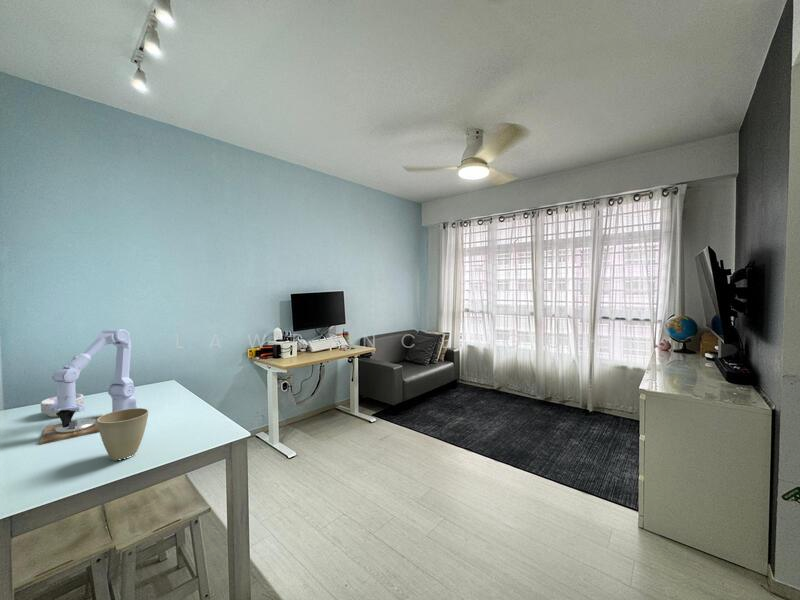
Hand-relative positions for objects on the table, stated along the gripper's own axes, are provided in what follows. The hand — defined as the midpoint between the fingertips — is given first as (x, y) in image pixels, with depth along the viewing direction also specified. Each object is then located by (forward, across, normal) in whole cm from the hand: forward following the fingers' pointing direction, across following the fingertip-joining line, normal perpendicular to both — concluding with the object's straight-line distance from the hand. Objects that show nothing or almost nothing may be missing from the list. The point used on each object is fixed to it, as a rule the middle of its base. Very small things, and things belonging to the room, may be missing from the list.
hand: (67, 426), depth 142 cm
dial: (+2, -1, +4) cm, 5 cm away
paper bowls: (+4, -28, +21) cm, 35 cm away
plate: (+3, -1, +4) cm, 6 cm away
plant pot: (+3, +42, -14) cm, 44 cm away
